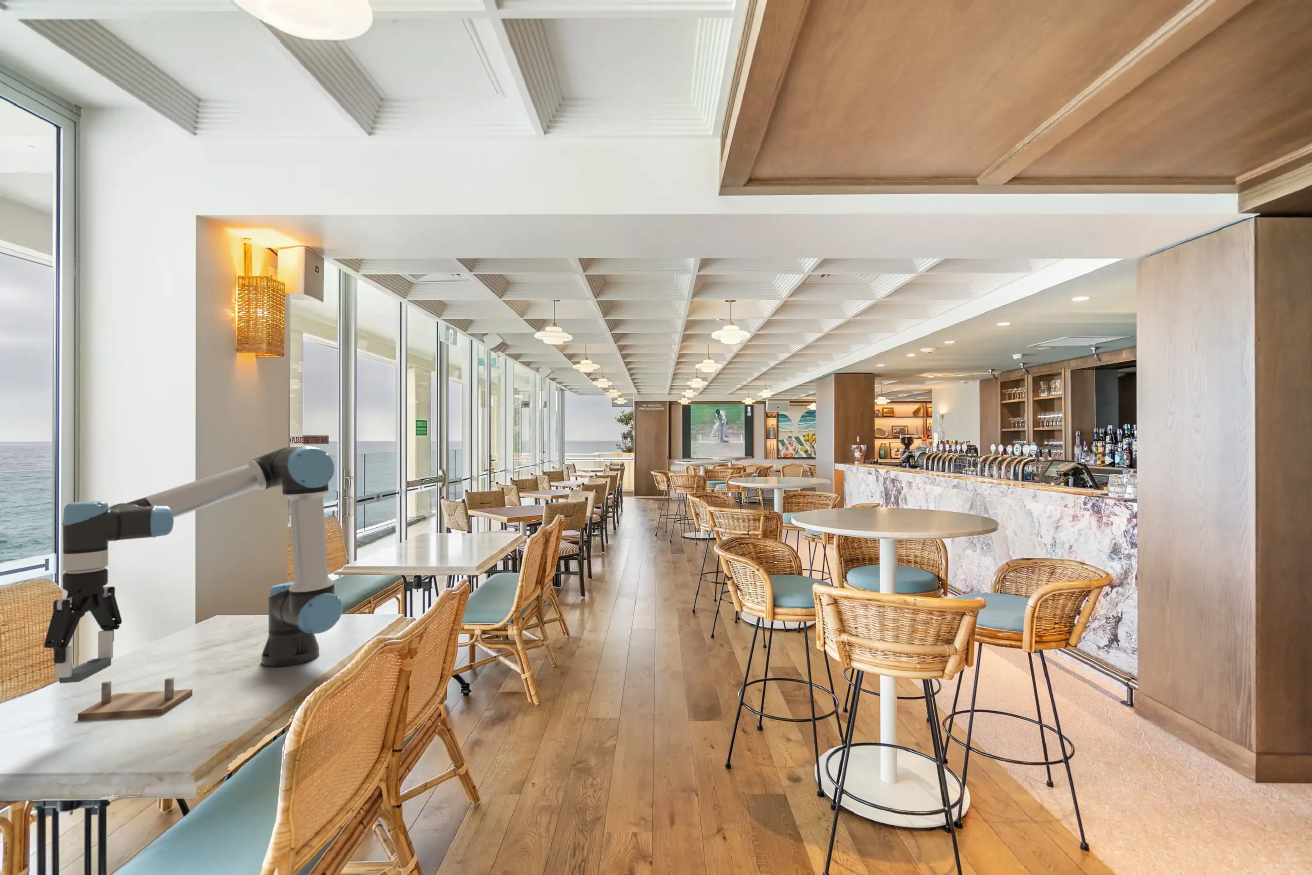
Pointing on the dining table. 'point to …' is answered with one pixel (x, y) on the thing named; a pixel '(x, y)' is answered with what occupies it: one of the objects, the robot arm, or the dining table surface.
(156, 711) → the mount
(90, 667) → the dark grey block
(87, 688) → the dining table surface
